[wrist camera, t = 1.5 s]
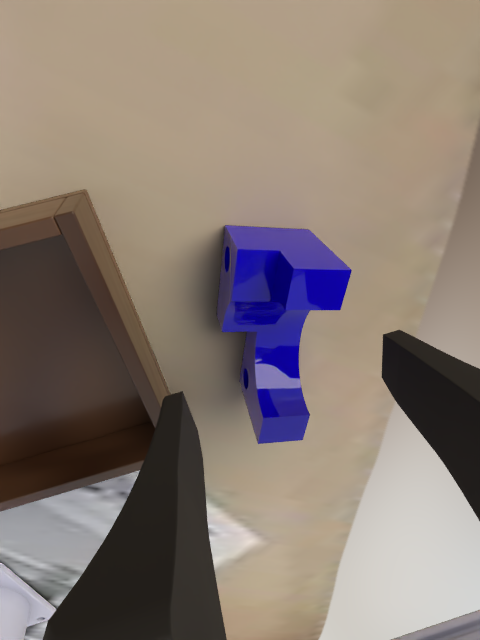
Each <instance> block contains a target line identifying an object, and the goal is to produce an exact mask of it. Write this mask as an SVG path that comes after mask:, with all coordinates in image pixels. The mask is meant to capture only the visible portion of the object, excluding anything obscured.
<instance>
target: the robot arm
mask: <svg viewBox="0 0 480 640" xmlns="http://www.w3.org/2000/svg"><path fill="white" fill-rule="evenodd" d="M382 378H383V380H384V382H385V384H386V385H387V387H388V389H389V391H390V392H391V394H392V396H393V397H394V399H395V401H396V402H397V403H398V405H399V406H400V407H401V409H402V410H403V411H404V412H405V414H406V415H407V416H408V418H409V419H410V420H411V421H412V423H413V424H414V425H415V426H416V428H417V429H418V430H419V432H420V433H421V434H422V435H423V437H424V438H425V439H426V440H427V442H428V443H429V444H430V446H431V447H432V448H433V449H434V450H435V452H436V453H437V455H438V456H439V457H440V459H441V460H442V461H443V463H444V464H445V466H446V467H447V469H448V470H449V472H450V474H451V475H452V477H453V478H454V480H455V481H456V483H457V484H458V486H459V488H460V489H461V490H462V492H463V494H464V496H465V497H466V499H467V501H468V502H469V504H470V506H471V507H472V509H473V511H474V512H475V514H476V516H477V517H478V519H479V521H480V369H479V368H476V367H474V366H471V365H469V364H467V363H465V362H463V361H461V360H458V359H457V358H455V357H452V356H450V355H448V354H446V353H444V352H442V351H440V350H438V349H436V348H434V347H432V346H430V345H429V344H427V343H425V342H423V341H421V340H419V339H417V338H415V337H413V336H411V335H409V334H407V333H405V332H403V331H401V330H397V331H394V332H390V333H387V334H383V355H382ZM47 620H48V623H47V627H46V631H45V634H44V637H43V640H227V639H226V634H225V628H224V623H223V617H222V612H221V606H220V601H219V595H218V589H217V583H216V577H215V571H214V565H213V559H212V553H211V547H210V541H209V533H208V524H207V511H206V496H205V482H204V468H203V457H202V451H201V446H200V440H199V435H198V430H197V428H196V425H195V422H194V420H193V417H192V415H191V412H190V409H189V407H188V404H187V402H186V399H185V396H184V394H183V391H182V392H179V393H175V394H172V395H168V396H165V397H164V399H163V401H162V406H161V410H160V414H159V418H158V421H157V424H156V428H155V431H154V434H153V437H152V440H151V443H150V446H149V449H148V452H147V454H146V457H145V459H144V462H143V464H142V467H141V469H140V472H139V474H138V477H137V479H136V481H135V483H134V486H133V488H132V490H131V492H130V494H129V496H128V498H127V500H126V502H125V504H124V506H123V508H122V510H121V512H120V514H119V516H118V517H117V519H116V521H115V523H114V525H113V526H112V528H111V530H110V532H109V533H108V535H107V537H106V538H105V540H104V542H103V543H102V545H101V546H100V548H99V550H98V551H97V553H96V554H95V556H94V557H93V559H92V560H91V562H90V563H89V565H88V566H87V568H86V570H85V571H84V573H83V574H82V576H81V577H80V578H79V580H78V581H77V583H76V584H75V585H74V587H73V588H72V589H71V591H70V592H69V593H68V595H67V596H66V598H65V599H64V600H63V602H62V603H61V604H60V606H59V607H58V608H57V610H56V608H55V607H54V606H52V605H51V604H50V603H49V602H48V601H46V600H45V599H44V598H43V597H42V596H41V595H39V594H38V593H37V592H36V591H35V590H33V589H32V588H31V587H30V586H29V585H27V584H26V583H25V582H24V581H23V580H22V579H20V578H19V577H18V576H17V575H16V574H14V573H13V572H12V571H11V570H10V569H9V568H7V567H6V566H5V565H4V564H3V563H1V562H0V640H24V636H25V631H26V627H28V626H31V625H34V624H37V623H41V622H44V621H47ZM391 640H480V610H478V611H475V612H472V613H469V614H466V615H463V616H460V617H457V618H454V619H451V620H448V621H445V622H442V623H439V624H436V625H433V626H430V627H427V628H424V629H422V630H418V631H415V632H413V633H409V634H406V635H403V636H401V637H397V638H394V639H391Z"/></svg>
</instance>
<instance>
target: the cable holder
mask: <svg viewBox="0 0 480 640" xmlns="http://www.w3.org/2000/svg"><path fill="white" fill-rule="evenodd" d="M351 271H352V270H351V269H350V268H349V267H348V266H347V265H346V264H345V263H344V262H343V261H342V260H340V259H339V258H338V257H337V256H336V255H335V254H334V253H333V252H332V251H331V250H330V249H329V248H328V247H327V246H326V245H325V244H323V243H322V242H321V241H320V240H319V239H318V238H317V237H316V236H315V235H314V234H313V233H312V232H311V231H310V230H306V229H287V228H267V227H248V226H228V225H225V232H224V243H223V253H222V263H221V274H220V284H219V294H218V305H217V316H218V320H219V323H220V327H221V330H222V332H246V339H245V346H244V353H243V359H242V366H241V373H240V380H239V382H240V385H241V389H242V392H243V395H244V399H245V402H246V405H247V409H248V412H249V415H250V419H251V422H252V425H253V428H254V432H255V435H256V438H257V442H258V444H261V443H273V442H285V441H297V440H303V437H304V433H305V430H306V426H307V423H308V420H309V416H310V414H309V412H308V410H307V407H306V404H305V401H304V397H303V394H302V389H301V383H300V376H299V343H300V336H301V332H302V328H303V324H304V321H305V319H306V317H307V315H308V313H309V311H310V310H340V309H341V305H342V302H343V299H344V295H345V292H346V288H347V285H348V281H349V278H350V274H351Z"/></svg>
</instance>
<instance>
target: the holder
mask: <svg viewBox="0 0 480 640" xmlns="http://www.w3.org/2000/svg"><path fill="white" fill-rule="evenodd" d="M168 395H171V394H170V392H169V390H168V387H167V385H166V382H165V380H164V377H163V375H162V373H161V370H160V368H159V365H158V363H157V360H156V358H155V356H154V353H153V351H152V348H151V346H150V343H149V341H148V338H147V336H146V334H145V331H144V329H143V326H142V324H141V321H140V319H139V317H138V314H137V312H136V309H135V307H134V304H133V302H132V300H131V297H130V295H129V292H128V290H127V287H126V285H125V283H124V280H123V278H122V275H121V273H120V270H119V268H118V266H117V263H116V261H115V258H114V256H113V253H112V251H111V249H110V246H109V244H108V241H107V239H106V236H105V234H104V232H103V229H102V227H101V224H100V222H99V219H98V217H97V215H96V212H95V210H94V207H93V205H92V202H91V200H90V198H89V195H88V193H87V191H86V190H80V191H76V192H72V193H68V194H64V195H60V196H56V197H52V198H48V199H44V200H40V201H36V202H31V203H27V204H23V205H19V206H15V207H11V208H7V209H3V210H0V511H4V510H7V509H11V508H14V507H17V506H21V505H24V504H27V503H31V502H34V501H37V500H41V499H44V498H48V497H51V496H54V495H58V494H61V493H64V492H68V491H71V490H75V489H78V488H81V487H85V486H88V485H91V484H95V483H98V482H102V481H105V480H108V479H112V478H115V477H118V476H122V475H125V474H129V473H132V472H135V471H139V470H140V469H141V467H142V464H143V462H144V459H145V457H146V454H147V452H148V449H149V446H150V443H151V440H152V437H153V434H154V431H155V428H156V424H157V421H158V418H159V414H160V410H161V406H162V401H163V399H164V397H165V396H168Z"/></svg>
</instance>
